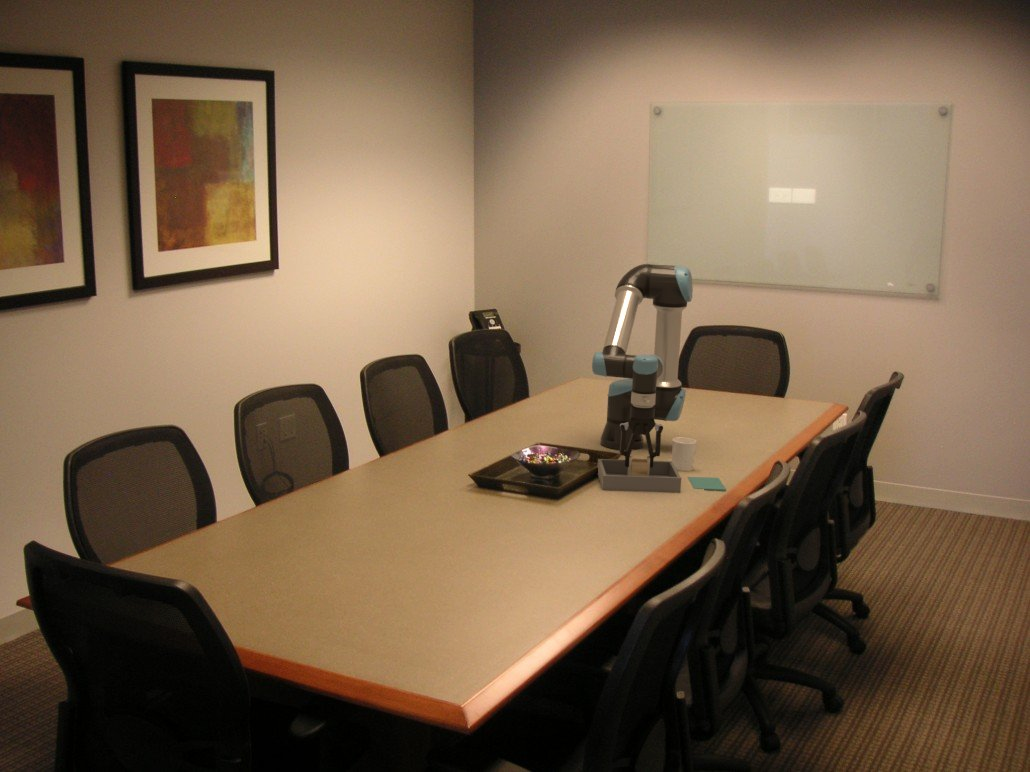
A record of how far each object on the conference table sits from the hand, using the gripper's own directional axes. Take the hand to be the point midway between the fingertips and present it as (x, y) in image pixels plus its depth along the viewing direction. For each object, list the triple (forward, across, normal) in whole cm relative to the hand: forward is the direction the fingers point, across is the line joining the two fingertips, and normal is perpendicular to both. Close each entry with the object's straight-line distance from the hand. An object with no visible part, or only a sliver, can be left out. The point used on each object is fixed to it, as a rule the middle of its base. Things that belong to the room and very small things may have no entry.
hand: (638, 476), depth 346 cm
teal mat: (+2, +22, +1) cm, 22 cm away
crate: (+2, 0, 0) cm, 2 cm away
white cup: (+2, +17, +17) cm, 24 cm away
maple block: (+2, 0, 0) cm, 2 cm away
